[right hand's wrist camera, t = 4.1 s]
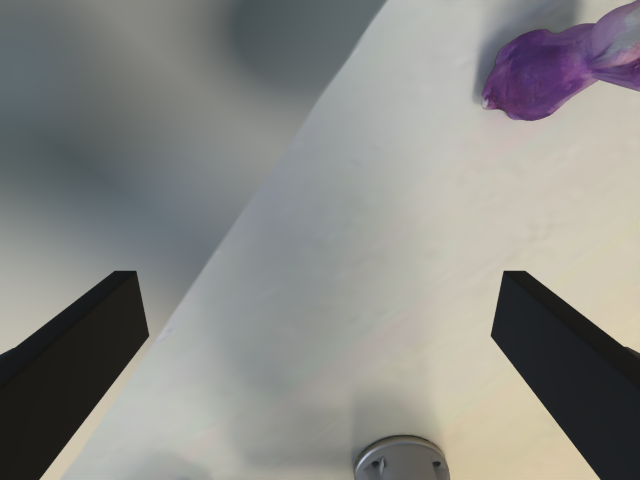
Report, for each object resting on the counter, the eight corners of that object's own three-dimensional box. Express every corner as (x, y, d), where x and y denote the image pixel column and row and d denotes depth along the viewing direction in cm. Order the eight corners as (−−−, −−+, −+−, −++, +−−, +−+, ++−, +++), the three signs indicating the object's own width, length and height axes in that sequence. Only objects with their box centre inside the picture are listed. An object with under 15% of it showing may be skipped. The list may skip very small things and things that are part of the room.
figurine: (592, 28, 36) (769, -27, 22) (547, 129, 39) (676, 139, 25) (507, 3, 35) (632, -70, 21) (469, 109, 38) (555, 107, 24)
